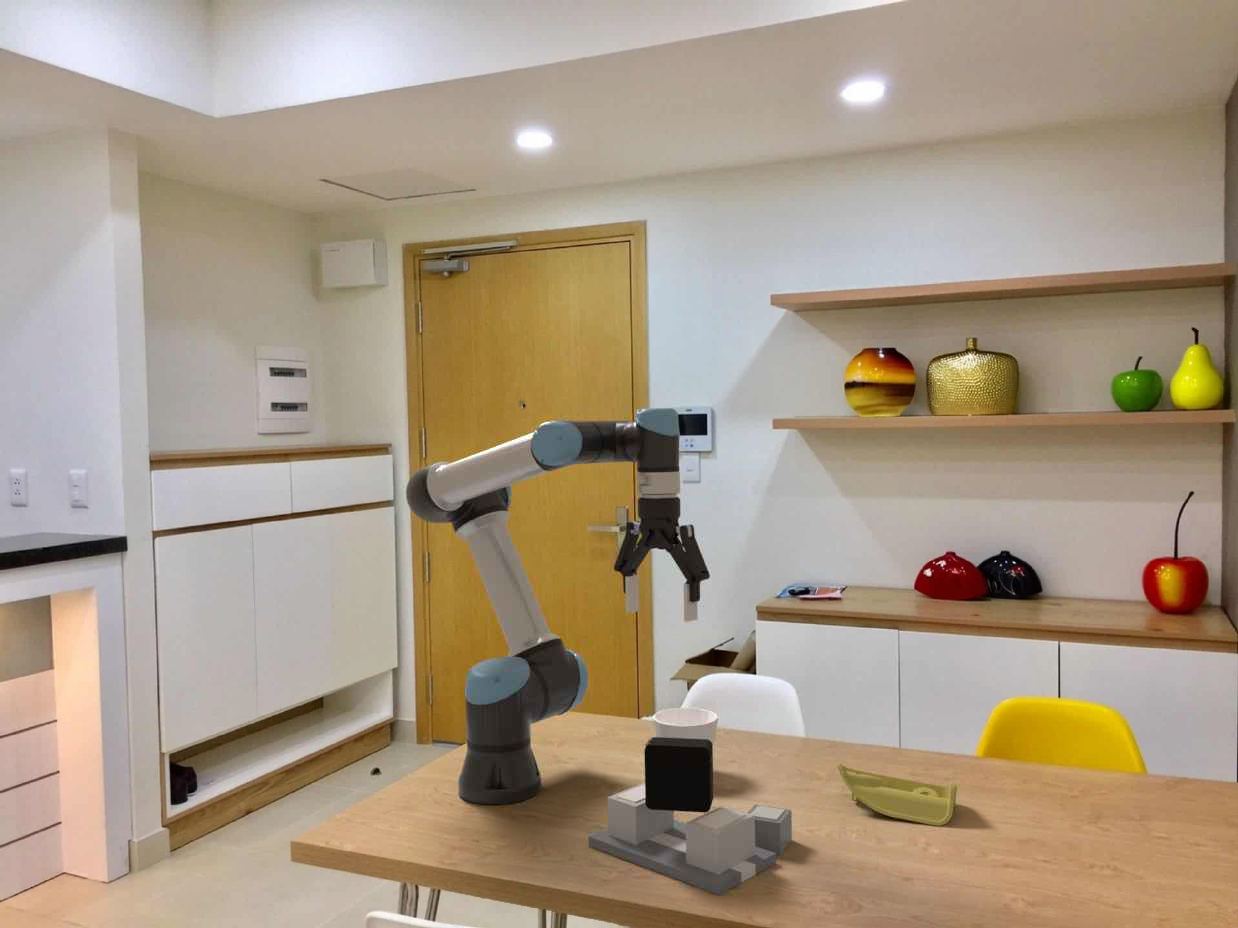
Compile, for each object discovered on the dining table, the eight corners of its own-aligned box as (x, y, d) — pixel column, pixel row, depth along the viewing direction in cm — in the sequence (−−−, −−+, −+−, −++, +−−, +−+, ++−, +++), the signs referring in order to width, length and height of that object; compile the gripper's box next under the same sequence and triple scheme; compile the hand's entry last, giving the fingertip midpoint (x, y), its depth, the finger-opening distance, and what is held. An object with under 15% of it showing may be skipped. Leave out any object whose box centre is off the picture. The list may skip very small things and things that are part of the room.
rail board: (588, 845, 160) (587, 797, 159) (647, 819, 170) (646, 774, 170) (719, 894, 142) (718, 840, 142) (776, 862, 152) (775, 812, 152)
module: (743, 848, 158) (742, 815, 157) (755, 834, 163) (755, 802, 163) (780, 855, 155) (780, 821, 155) (791, 840, 160) (791, 808, 160)
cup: (730, 769, 194) (729, 712, 194) (699, 789, 184) (698, 729, 183) (673, 759, 201) (672, 704, 200) (641, 777, 190) (640, 719, 190)
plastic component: (957, 789, 175) (955, 781, 166) (953, 833, 172) (950, 828, 164) (842, 768, 183) (834, 759, 174) (836, 810, 180) (828, 803, 171)
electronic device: (710, 813, 152) (709, 747, 152) (645, 809, 154) (644, 744, 154) (713, 802, 156) (712, 739, 156) (650, 799, 158) (648, 736, 158)
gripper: (593, 495, 183) (595, 611, 184) (701, 499, 166) (703, 627, 167) (621, 492, 189) (623, 605, 189) (728, 496, 172) (730, 620, 172)
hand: (660, 616), depth 178 cm, fingers open, 13 cm apart
